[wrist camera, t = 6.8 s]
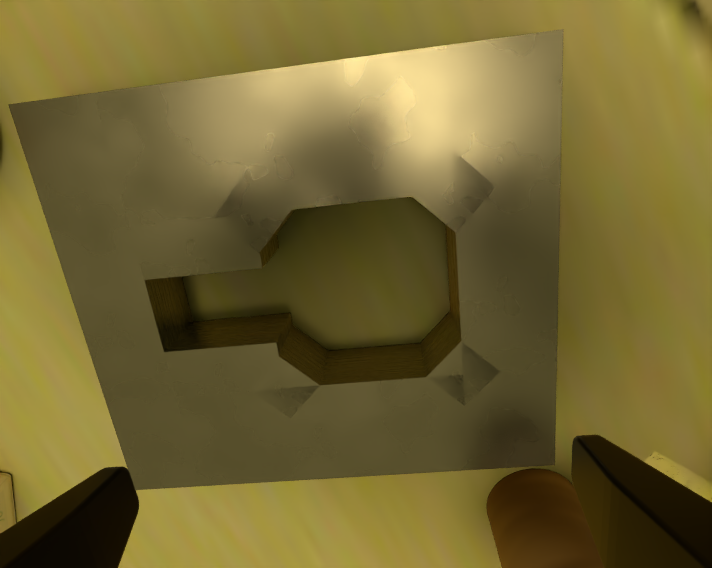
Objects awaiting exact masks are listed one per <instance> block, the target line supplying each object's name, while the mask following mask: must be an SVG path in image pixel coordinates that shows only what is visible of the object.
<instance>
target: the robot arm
mask: <svg viewBox="0 0 712 568" xmlns="http://www.w3.org/2000/svg"><path fill="white" fill-rule="evenodd" d="M572 481H573V485H574V488H575V491H576V494H577V496H578V499H579V502H580V504H581V507H582V510H583V512H584V515H585V518H586V521H587V523H588V526H589V529H590V531H591V534H592V537H593V539H594V542H595V545H596V547H597V550H598V553H599V556H600V558H601V561H602V563H603V566H604V568H712V502H710V501H708V500H707V499H705V498H703V497H702V496H700V495H698V494H697V493H695V492H693V491H692V490H690V489H688V488H687V487H685V486H683V485H682V484H680V483H678V482H677V481H675V480H673V479H672V478H670V477H668V476H667V475H665V474H663V473H662V472H660V471H658V470H657V469H655V468H653V467H652V466H650V465H648V464H647V463H645V462H643V461H642V460H640V459H638V458H637V457H635V456H633V455H632V454H630V453H628V452H627V451H625V450H623V449H622V448H620V447H618V446H616V445H615V444H613V443H611V442H610V441H608V440H606V439H605V438H603V437H601V436H599V435H582V436H576V437H575V438H574V440H573V445H572ZM138 509H139V500H138V496H137V493H136V490H135V487H134V484H133V481H132V478H131V475H130V472H129V470H128V469H127V468H125V467H108V468H104V469H102V470H100V471H98V472H97V473H95V474H94V475H92V476H90V477H89V478H87V479H86V480H84V481H82V482H81V483H79V484H78V485H76V486H75V487H73V488H71V489H70V490H68V491H67V492H65V493H63V494H62V495H60V496H59V497H57V498H56V499H54V500H52V501H51V502H49V503H48V504H46V505H44V506H43V507H41V508H40V509H38V510H37V511H35V512H33V513H32V514H30V515H29V516H27V517H25V518H24V519H22V520H21V521H19V522H18V523H16V524H14V525H13V526H11V527H10V528H8V529H6V530H5V531H3V532H2V533H0V568H118V566H119V563H120V561H121V558H122V555H123V552H124V550H125V547H126V544H127V541H128V539H129V536H130V533H131V530H132V528H133V525H134V522H135V519H136V517H137V514H138Z"/></svg>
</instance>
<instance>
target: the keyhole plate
mask: <svg viewBox="0 0 712 568" xmlns="http://www.w3.org/2000/svg"><path fill="white" fill-rule="evenodd" d="M562 74H563V29H561V30H554V31H547V32H539V33H532V34H525V35H517V36H510V37H503V38H495V39H488V40H480V41H473V42H466V43H458V44H451V45H444V46H436V47H429V48H422V49H414V50H407V51H399V52H392V53H385V54H377V55H370V56H363V57H355V58H348V59H341V60H333V61H326V62H318V63H311V64H304V65H296V66H289V67H282V68H274V69H267V70H260V71H252V72H245V73H237V74H230V75H223V76H215V77H208V78H201V79H193V80H186V81H179V82H171V83H164V84H156V85H149V86H142V87H134V88H127V89H120V90H112V91H105V92H98V93H90V94H83V95H75V96H68V97H61V98H53V99H46V100H39V101H31V102H24V103H17V104H9V108H10V111H11V114H12V117H13V120H14V123H15V126H16V129H17V132H18V135H19V138H20V142H21V145H22V148H23V151H24V154H25V157H26V160H27V163H28V166H29V169H30V172H31V175H32V178H33V181H34V184H35V187H36V190H37V193H38V196H39V199H40V202H41V206H42V209H43V212H44V215H45V218H46V221H47V224H48V227H49V230H50V233H51V236H52V239H53V242H54V245H55V248H56V251H57V254H58V257H59V260H60V263H61V266H62V269H63V273H64V276H65V279H66V282H67V285H68V288H69V291H70V294H71V297H72V300H73V303H74V306H75V309H76V312H77V315H78V318H79V321H80V324H81V327H82V330H83V333H84V336H85V340H86V343H87V346H88V349H89V352H90V355H91V358H92V361H93V364H94V367H95V370H96V373H97V376H98V379H99V382H100V385H101V388H102V391H103V394H104V397H105V400H106V403H107V407H108V410H109V413H110V416H111V419H112V422H113V425H114V428H115V431H116V434H117V437H118V440H119V443H120V446H121V449H122V452H123V455H124V458H125V461H126V464H127V467H128V470H129V472H130V475H131V478H132V481H133V484H134V487H135V490H143V489H160V488H177V487H194V486H210V485H227V484H244V483H260V482H277V481H294V480H310V479H327V478H344V477H361V476H377V475H394V474H411V473H427V472H444V471H461V470H478V469H494V468H511V467H528V466H544V465H555V425H556V375H557V325H558V275H559V224H560V174H561V124H562ZM411 196H412V197H413V198H414V199H416V200H417V201H418V202H419V203H420V204H422V205H423V206H424V207H425V208H427V209H428V210H429V211H430V212H431V213H433V214H434V215H435V216H436V217H437V218H439V219H440V220H441V221H442V222H444V223H445V227H446V244H447V261H448V279H449V296H450V312H449V313H448V314H447V315H446V316H445V317H444V318H443V319H442V320H441V321H440V323H439V324H438V325H437V326H436V327H435V328H434V329H433V330H432V331H431V332H430V333H429V334H428V335H427V336H426V337H425V338H424V339H423V341H422V342H421V343H415V344H403V345H391V346H379V347H367V348H355V349H343V350H331V351H328V350H326V349H325V348H324V347H322V346H321V345H319V344H318V343H317V342H315V341H314V340H313V339H311V338H310V337H308V336H307V335H306V334H304V333H303V332H302V331H300V330H299V329H297V328H296V327H295V326H293V325H292V319H291V313H284V314H273V315H262V316H251V317H240V318H229V319H217V320H206V321H195V322H193V320H192V316H191V312H190V308H189V304H188V300H187V296H186V292H185V288H184V284H183V280H182V276H189V275H199V274H210V273H220V272H230V271H240V270H250V269H260V268H263V267H264V266H265V264H266V263H267V262H268V261H269V259H270V258H271V257H272V256H273V254H274V253H275V252H276V251H277V250H278V248H279V244H278V238H277V233H278V232H279V230H280V229H281V228H282V226H283V225H284V224H285V222H286V221H287V220H288V218H289V217H290V216H291V214H292V213H293V212H294V210H295V209H301V208H311V207H320V206H329V205H338V204H347V203H356V202H365V201H375V200H384V199H393V198H402V197H411Z"/></svg>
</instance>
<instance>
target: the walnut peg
mask: <svg viewBox="0 0 712 568" xmlns="http://www.w3.org/2000/svg"><path fill="white" fill-rule="evenodd" d="M487 514H488V517H489V521H490V525H491V529H492V532H493V536H494V540H495V543H496V547H497V551H498V555H499V558H500V562H501V566H502V568H604V566H603V563H602V561H601V558H600V556H599V553H598V550H597V547H596V545H595V542H594V539H593V537H592V534H591V531H590V529H589V526H588V523H587V521H586V518H585V515H584V512H583V510H582V507H581V504H580V502H579V499H578V496H577V494H576V491H575V488H574V486H573V485H572V484H571V483H570V481H569V480H567V479H566V478H565V477H563V476H562V475H560V474H558V473H556V472H553V471H550V470H545V469H526V470H522V471H518V472H515V473H513V474H510V475H508V476H507V477H505V478H503V479H502V480H501V481H499V482H498V483H497V484H496V485H495V487H494V488H493V489H492V491H491V492H490V494H489V497H488V500H487Z"/></svg>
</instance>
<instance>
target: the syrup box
mask: <svg viewBox="0 0 712 568" xmlns="http://www.w3.org/2000/svg"><path fill="white" fill-rule="evenodd" d="M14 524H16V518H15V508H14V499H13V490H12V482H11V475H9V474H7V473H0V533H2V532H3V531H5V530H6V529H8V528H10V527H11V526H13V525H14Z"/></svg>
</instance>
